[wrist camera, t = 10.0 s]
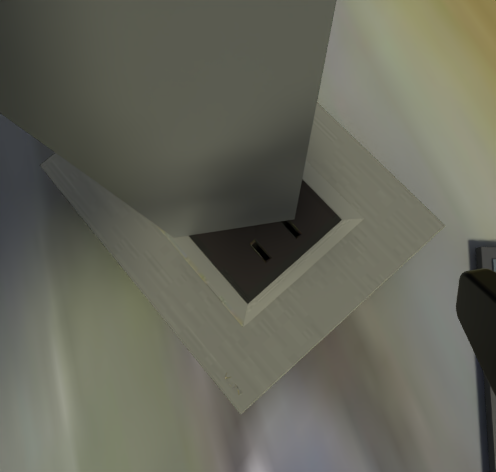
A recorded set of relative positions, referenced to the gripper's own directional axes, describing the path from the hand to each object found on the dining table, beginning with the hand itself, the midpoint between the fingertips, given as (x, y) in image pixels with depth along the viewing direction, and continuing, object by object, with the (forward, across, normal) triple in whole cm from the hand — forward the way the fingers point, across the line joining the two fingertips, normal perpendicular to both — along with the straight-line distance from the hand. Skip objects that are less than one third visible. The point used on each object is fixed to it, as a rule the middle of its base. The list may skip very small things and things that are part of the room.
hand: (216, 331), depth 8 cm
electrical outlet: (+11, 0, +4) cm, 12 cm away
